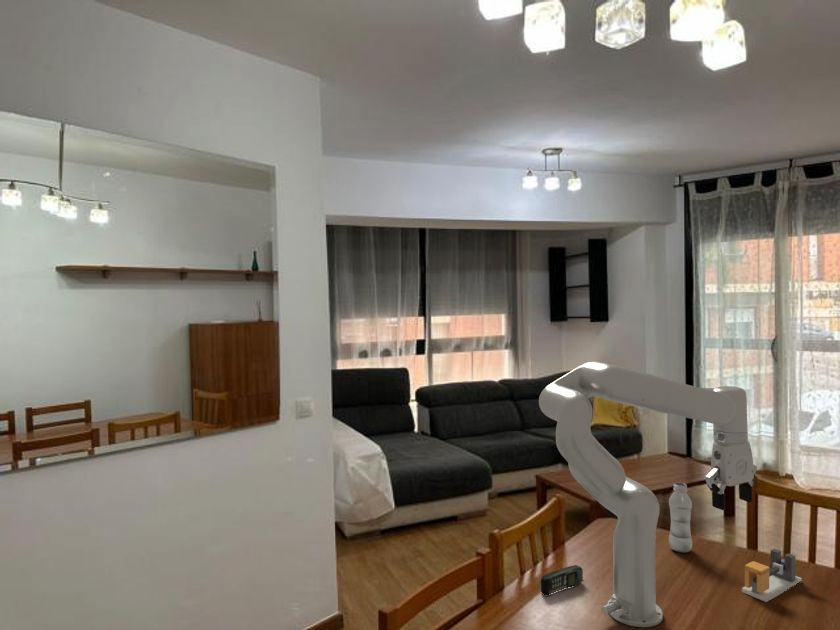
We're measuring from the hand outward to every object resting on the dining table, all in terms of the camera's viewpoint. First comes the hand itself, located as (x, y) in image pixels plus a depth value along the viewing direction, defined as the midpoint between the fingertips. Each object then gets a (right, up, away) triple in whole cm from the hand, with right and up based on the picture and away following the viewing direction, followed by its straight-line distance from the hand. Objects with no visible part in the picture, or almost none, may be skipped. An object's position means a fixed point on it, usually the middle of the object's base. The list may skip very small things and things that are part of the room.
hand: (732, 504), depth 143 cm
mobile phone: (-40, -25, +8) cm, 48 cm away
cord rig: (+14, -24, +6) cm, 28 cm away
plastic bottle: (0, -23, +28) cm, 37 cm away
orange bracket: (+7, -22, +2) cm, 23 cm away
